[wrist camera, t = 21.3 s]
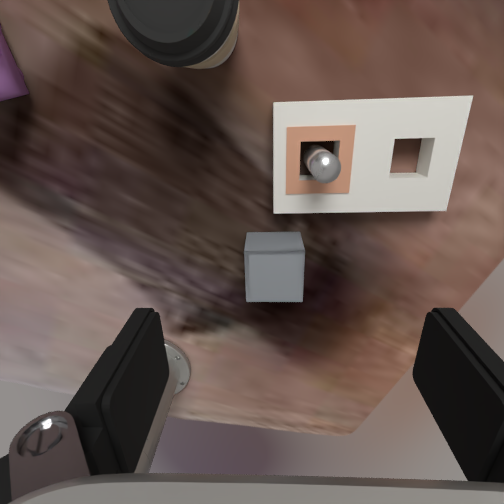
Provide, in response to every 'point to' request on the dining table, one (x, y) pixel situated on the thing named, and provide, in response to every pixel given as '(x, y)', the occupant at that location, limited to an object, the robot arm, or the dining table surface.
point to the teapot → (10, 74)
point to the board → (368, 153)
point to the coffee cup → (180, 29)
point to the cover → (274, 267)
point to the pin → (322, 164)
